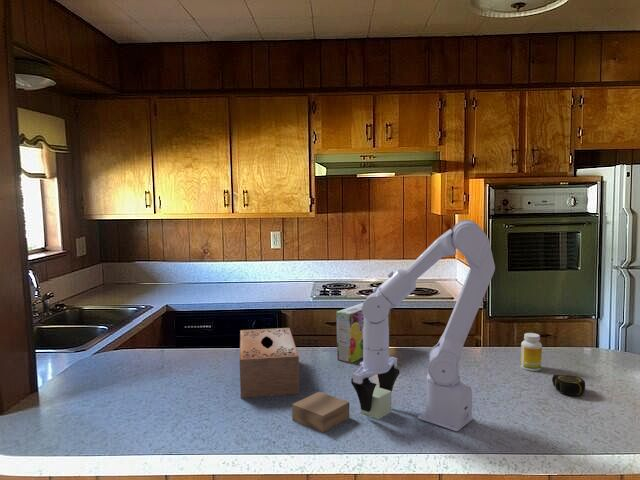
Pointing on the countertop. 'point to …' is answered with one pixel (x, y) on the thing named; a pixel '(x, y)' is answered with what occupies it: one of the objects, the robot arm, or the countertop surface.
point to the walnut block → (320, 411)
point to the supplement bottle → (531, 352)
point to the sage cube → (379, 403)
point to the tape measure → (569, 384)
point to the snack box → (350, 333)
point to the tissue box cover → (268, 363)
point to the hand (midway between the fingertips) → (375, 404)
